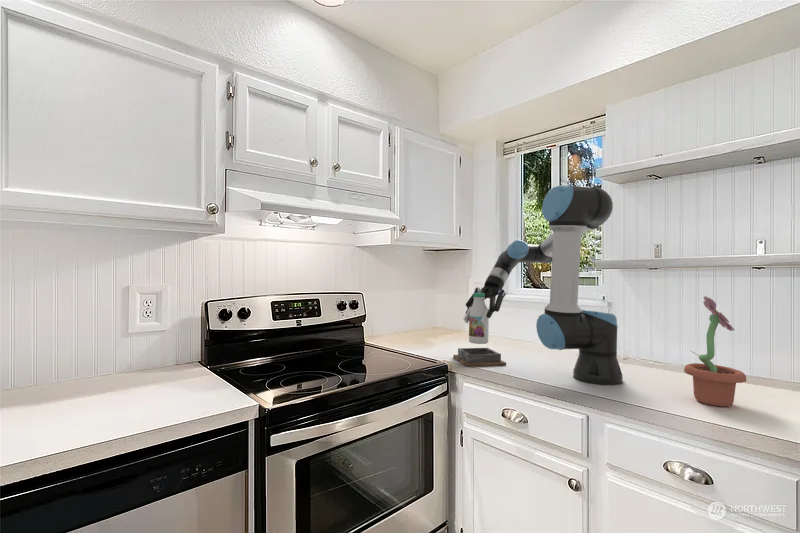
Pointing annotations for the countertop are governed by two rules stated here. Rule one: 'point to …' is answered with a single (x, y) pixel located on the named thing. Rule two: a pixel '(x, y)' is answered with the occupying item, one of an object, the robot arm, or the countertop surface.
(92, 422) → the countertop surface
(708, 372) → the decorative flower
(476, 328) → the milk bottle
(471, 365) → the square grey dish
